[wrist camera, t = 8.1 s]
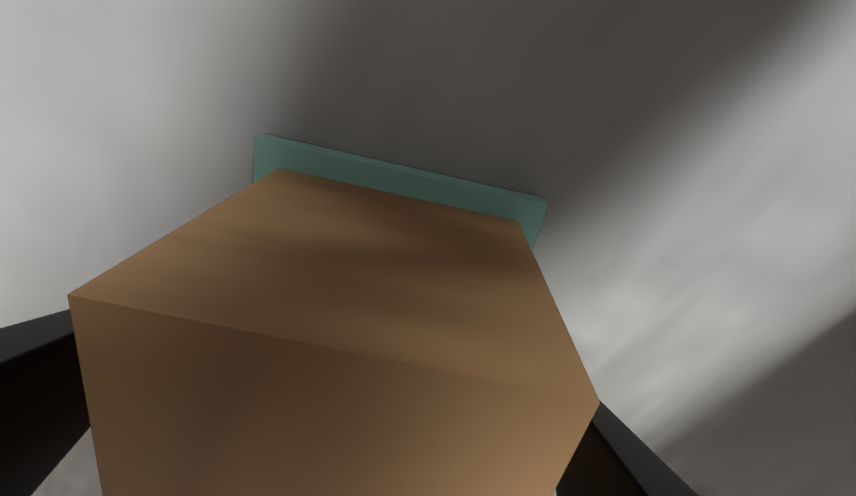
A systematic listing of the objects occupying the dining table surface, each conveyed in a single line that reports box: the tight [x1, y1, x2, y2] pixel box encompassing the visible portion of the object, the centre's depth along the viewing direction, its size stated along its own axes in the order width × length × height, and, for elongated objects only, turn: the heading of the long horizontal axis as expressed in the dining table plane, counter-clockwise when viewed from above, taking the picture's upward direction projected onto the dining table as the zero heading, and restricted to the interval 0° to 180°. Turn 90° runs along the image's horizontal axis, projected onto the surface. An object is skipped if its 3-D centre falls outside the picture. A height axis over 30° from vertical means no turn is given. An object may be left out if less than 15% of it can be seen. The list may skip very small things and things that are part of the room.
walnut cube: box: [68, 168, 600, 496], centre depth 8 cm, size 6×6×6 cm
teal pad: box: [253, 134, 548, 251], centre depth 12 cm, size 7×7×1 cm
